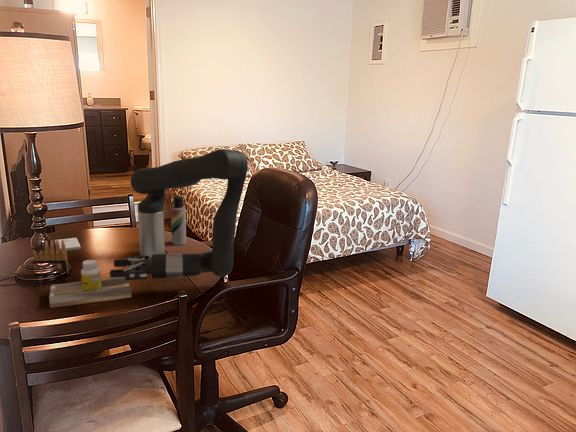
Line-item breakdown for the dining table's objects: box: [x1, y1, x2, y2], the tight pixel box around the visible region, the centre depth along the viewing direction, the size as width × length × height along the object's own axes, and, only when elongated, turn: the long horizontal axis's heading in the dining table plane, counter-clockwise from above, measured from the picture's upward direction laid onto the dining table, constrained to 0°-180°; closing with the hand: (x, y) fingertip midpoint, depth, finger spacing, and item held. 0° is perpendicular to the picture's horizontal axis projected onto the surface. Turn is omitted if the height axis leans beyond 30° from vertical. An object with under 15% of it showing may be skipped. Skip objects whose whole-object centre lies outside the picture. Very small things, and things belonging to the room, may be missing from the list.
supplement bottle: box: [80, 259, 102, 292], centre depth 136 cm, size 5×5×10 cm
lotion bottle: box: [170, 195, 187, 246], centre depth 185 cm, size 6×6×20 cm
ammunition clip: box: [32, 239, 70, 275], centre depth 150 cm, size 11×2×12 cm, turn 98°
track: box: [48, 277, 132, 309], centre depth 137 cm, size 10×22×3 cm, turn 114°
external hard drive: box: [54, 237, 82, 252], centre depth 179 cm, size 2×8×12 cm
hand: (112, 268), depth 136 cm, fingers open, 8 cm apart
